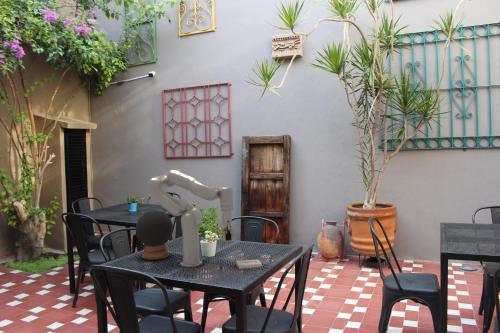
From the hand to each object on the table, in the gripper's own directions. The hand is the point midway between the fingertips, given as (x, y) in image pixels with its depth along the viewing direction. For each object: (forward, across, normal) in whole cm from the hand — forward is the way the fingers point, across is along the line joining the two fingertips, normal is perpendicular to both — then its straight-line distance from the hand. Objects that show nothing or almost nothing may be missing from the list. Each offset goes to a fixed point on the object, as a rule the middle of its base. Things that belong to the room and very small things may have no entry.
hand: (227, 238), depth 256 cm
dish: (+16, +4, +11) cm, 20 cm away
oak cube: (+1, 0, 0) cm, 1 cm away
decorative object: (+15, -34, -42) cm, 56 cm away
